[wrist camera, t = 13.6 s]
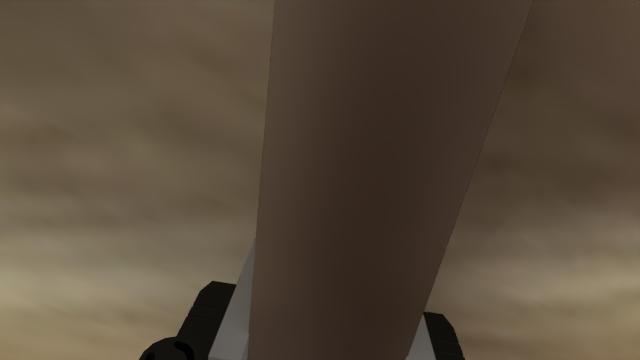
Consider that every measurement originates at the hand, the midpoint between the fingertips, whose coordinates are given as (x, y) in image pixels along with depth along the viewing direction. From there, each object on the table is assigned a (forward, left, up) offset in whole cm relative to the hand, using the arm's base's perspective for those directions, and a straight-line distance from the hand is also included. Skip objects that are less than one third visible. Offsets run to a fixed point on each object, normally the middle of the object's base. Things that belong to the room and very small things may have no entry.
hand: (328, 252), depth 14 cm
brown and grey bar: (0, 0, 0) cm, 0 cm away
